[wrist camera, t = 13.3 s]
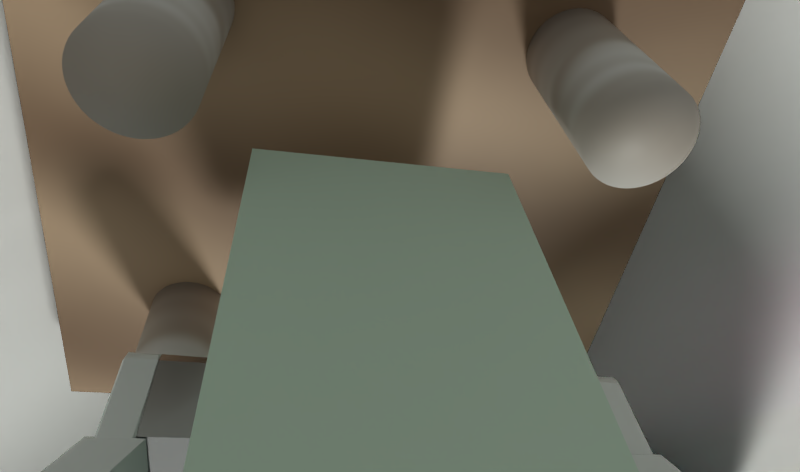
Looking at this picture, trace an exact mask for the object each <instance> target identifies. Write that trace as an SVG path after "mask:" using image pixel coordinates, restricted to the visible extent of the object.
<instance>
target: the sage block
mask: <svg viewBox="0 0 800 472" xmlns="http://www.w3.org/2000/svg"><path fill="white" fill-rule="evenodd" d="M183 472H639V471H638V468H637V466H636V464H635V462H634V459H633V457H632V455H631V452H630V450H629V448H628V446H627V443H626V441H625V439H624V437H623V434H622V432H621V430H620V427H619V425H618V423H617V421H616V418H615V416H614V414H613V411H612V409H611V407H610V405H609V402H608V400H607V398H606V396H605V393H604V391H603V389H602V386H601V384H600V382H599V380H598V377H597V375H596V373H595V370H594V368H593V366H592V364H591V361H590V359H589V357H588V355H587V352H586V350H585V348H584V345H583V343H582V341H581V339H580V336H579V334H578V332H577V329H576V327H575V325H574V323H573V320H572V318H571V316H570V314H569V311H568V309H567V307H566V304H565V302H564V300H563V298H562V295H561V293H560V291H559V288H558V286H557V284H556V282H555V279H554V277H553V275H552V272H551V270H550V268H549V266H548V263H547V261H546V259H545V257H544V254H543V252H542V250H541V247H540V245H539V243H538V241H537V238H536V236H535V234H534V231H533V229H532V227H531V225H530V222H529V220H528V218H527V216H526V213H525V211H524V209H523V206H522V204H521V202H520V200H519V197H518V195H517V193H516V190H515V188H514V186H513V184H512V181H511V179H510V177H509V175H508V174H504V173H494V172H484V171H474V170H464V169H454V168H444V167H434V166H424V165H414V164H404V163H394V162H384V161H374V160H364V159H354V158H344V157H334V156H324V155H313V154H303V153H293V152H283V151H273V150H263V149H253V148H252V153H251V157H250V162H249V167H248V171H247V176H246V181H245V185H244V190H243V194H242V199H241V204H240V208H239V213H238V218H237V222H236V227H235V232H234V236H233V241H232V246H231V250H230V255H229V260H228V264H227V269H226V274H225V278H224V283H223V288H222V292H221V297H220V302H219V306H218V311H217V315H216V320H215V325H214V329H213V334H212V339H211V343H210V348H209V353H208V357H207V362H206V367H205V371H204V376H203V381H202V385H201V390H200V395H199V399H198V404H197V409H196V413H195V418H194V422H193V427H192V432H191V436H190V441H189V446H188V450H187V455H186V460H185V464H184V469H183Z"/></svg>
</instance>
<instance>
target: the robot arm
mask: <svg viewBox="0 0 800 472" xmlns="http://www.w3.org/2000/svg"><path fill="white" fill-rule="evenodd" d="M206 362H207V357H194V356H181V355H168V354H162V355H160V354H146V353H133V352H128V354H127V355H126V356H125V358H124V359H123V360H122V363H121V366H120V369H119V371H118V374H117V377H116V380H115V383H114V385H113V388H112V391H111V394H110V396H109V399H108V402H107V405H106V408H105V410H104V413H103V416H102V419H101V421H100V424H99V427H98V430H97V433H96V435H95V437H84V438H82V439H81V440H80V441H79V442H77V443H76V444H75V445H74V446H72V447H71V448H70V449H69V450H67V451H66V452H65V453H64V454H62V455H61V456H60V457H59V458H58V459H56V460H55V461H54V462H53V463H51V464H50V465H49V466H48V467H46V468H45V469H44V470H43V471H41V472H183V469H184V464H185V460H186V455H187V450H188V446H189V441H190V436H191V432H192V427H193V422H194V418H195V413H196V409H197V404H198V399H199V395H200V390H201V385H202V381H203V376H204V371H205V367H206ZM598 380H599V382H600V384H601V386H602V389H603V391H604V393H605V396H606V398H607V400H608V402H609V405H610V407H611V409H612V411H613V414H614V416H615V418H616V421H617V423H618V425H619V427H620V430H621V432H622V434H623V437H624V439H625V441H626V443H627V446H628V448H629V450H630V452H631V455H632V457H633V459H634V462H635V464H636V466H637V468H638V471H639V472H681V471H680V470H679V469H678V468H676V467H675V466H674V465H673V464H672V463H670V462H669V461H668V460H667V459H666V458H664V457H663V456H662V455H655V454H653V453H652V451H651V449H650V447H649V445H648V443H647V441H646V439H645V436H644V434H643V432H642V430H641V428H640V426H639V424H638V422H637V420H636V418H635V416H634V414H633V412H632V409H631V407H630V405H629V403H628V401H627V399H626V397H625V395H624V393H623V391H622V389H621V387H620V385H619V383H618V381H617V380H616V379H614V378H613V377H598Z"/></svg>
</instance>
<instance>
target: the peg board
mask: <svg viewBox="0 0 800 472" xmlns="http://www.w3.org/2000/svg"><path fill="white" fill-rule="evenodd" d="M2 1H3V6H4V12H5V18H6V23H7V29H8V35H9V40H10V46H11V52H12V57H13V63H14V69H15V74H16V80H17V86H18V91H19V97H20V102H21V108H22V114H23V119H24V125H25V131H26V136H27V142H28V148H29V153H30V159H31V165H32V170H33V176H34V182H35V187H36V193H37V199H38V204H39V210H40V216H41V221H42V227H43V233H44V238H45V244H46V250H47V255H48V261H49V267H50V272H51V278H52V284H53V289H54V295H55V301H56V306H57V312H58V318H59V323H60V329H61V335H62V340H63V346H64V352H65V357H66V363H67V369H68V374H69V380H70V386H71V391H79V392H102V393H111V391H112V388H113V385H114V383H115V380H116V377H117V374H118V371H119V369H120V366H121V363H122V360H123V359H124V358H125V356H126V355H127V354H128V352H133V353H146V354H160V355H162V354H168V355H181V356H194V357H208V353H209V348H210V343H211V339H212V334H213V329H214V325H215V320H216V315H217V311H218V306H219V302H220V297H221V292H222V288H223V283H224V278H225V274H226V269H227V264H228V260H229V255H230V250H231V246H232V241H233V236H234V232H235V227H236V222H237V218H238V213H239V208H240V204H241V199H242V194H243V190H244V185H245V181H246V176H247V171H248V167H249V162H250V157H251V153H252V148H253V149H263V150H273V151H283V152H293V153H303V154H313V155H324V156H334V157H344V158H354V159H364V160H374V161H384V162H394V163H404V164H414V165H424V166H434V167H444V168H454V169H464V170H474V171H484V172H494V173H504V174H508V175H509V177H510V179H511V181H512V184H513V186H514V188H515V190H516V193H517V195H518V197H519V200H520V202H521V204H522V206H523V209H524V211H525V213H526V216H527V218H528V220H529V222H530V225H531V227H532V229H533V231H534V234H535V236H536V238H537V241H538V243H539V245H540V247H541V250H542V252H543V254H544V257H545V259H546V261H547V263H548V266H549V268H550V270H551V272H552V275H553V277H554V279H555V282H556V284H557V286H558V288H559V291H560V293H561V295H562V298H563V300H564V302H565V304H566V307H567V309H568V311H569V314H570V316H571V318H572V320H573V323H574V325H575V327H576V329H577V332H578V334H579V336H580V339H581V341H582V343H583V345H584V348H585V350H586V352H588V350H589V348H590V346H591V343H592V341H593V339H594V337H595V334H596V332H597V330H598V328H599V326H600V323H601V321H602V319H603V317H604V314H605V312H606V310H607V308H608V305H609V303H610V301H611V299H612V297H613V294H614V292H615V290H616V288H617V285H618V283H619V281H620V279H621V276H622V274H623V272H624V270H625V268H626V265H627V263H628V261H629V259H630V256H631V254H632V252H633V250H634V247H635V245H636V243H637V241H638V239H639V236H640V234H641V232H642V230H643V227H644V225H645V223H646V221H647V219H648V216H649V214H650V212H651V210H652V207H653V205H654V203H655V201H656V198H657V196H658V194H659V192H660V190H661V187H662V185H663V183H664V181H665V178H666V176H667V175H669V174H670V173H672V172H673V171H674V170H675V169H677V168H678V167H679V166H680V165H681V164H682V163H683V162H684V160H685V159H686V158H687V157H688V155H689V154H690V152H691V151H692V149H693V147H694V145H695V143H696V141H697V138H698V135H699V131H700V113H699V109H698V105H699V103H700V100H701V98H702V96H703V94H704V91H705V89H706V87H707V85H708V82H709V80H710V78H711V76H712V74H713V71H714V69H715V67H716V65H717V62H718V60H719V58H720V56H721V53H722V51H723V49H724V47H725V45H726V42H727V40H728V38H729V36H730V33H731V31H732V29H733V27H734V24H735V22H736V20H737V18H738V16H739V13H740V11H741V9H742V7H743V4H744V2H745V0H2Z"/></svg>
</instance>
